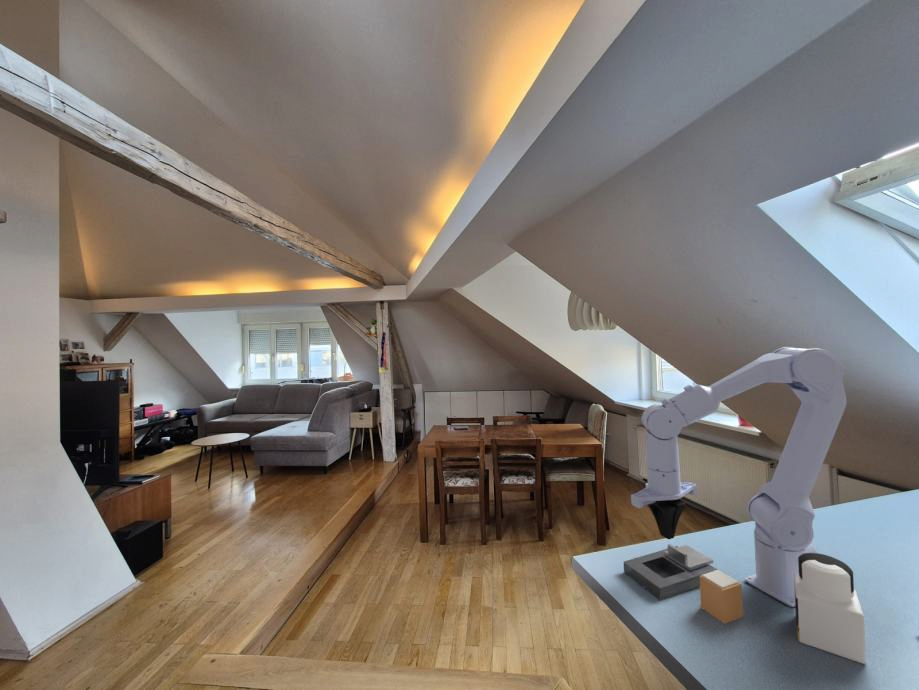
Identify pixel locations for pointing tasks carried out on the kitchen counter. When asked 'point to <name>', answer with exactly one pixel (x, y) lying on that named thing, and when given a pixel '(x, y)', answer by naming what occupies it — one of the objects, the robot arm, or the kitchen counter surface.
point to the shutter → (687, 557)
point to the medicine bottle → (829, 607)
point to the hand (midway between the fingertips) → (667, 536)
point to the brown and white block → (721, 596)
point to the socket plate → (663, 574)
